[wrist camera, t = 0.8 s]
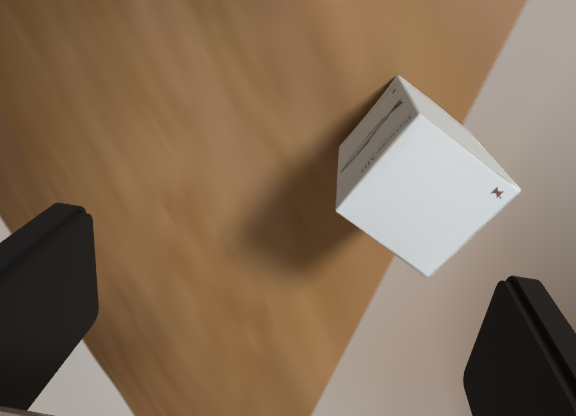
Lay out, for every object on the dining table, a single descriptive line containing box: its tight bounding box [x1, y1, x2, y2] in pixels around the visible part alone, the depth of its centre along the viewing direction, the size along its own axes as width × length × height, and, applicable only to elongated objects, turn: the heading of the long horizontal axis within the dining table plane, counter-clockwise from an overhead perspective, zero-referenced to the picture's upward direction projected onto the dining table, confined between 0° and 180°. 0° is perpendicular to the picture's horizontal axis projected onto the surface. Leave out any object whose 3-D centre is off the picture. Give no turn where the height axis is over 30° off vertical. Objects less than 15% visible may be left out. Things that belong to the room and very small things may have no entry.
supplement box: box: [335, 75, 521, 278], centre depth 31 cm, size 7×7×13 cm
